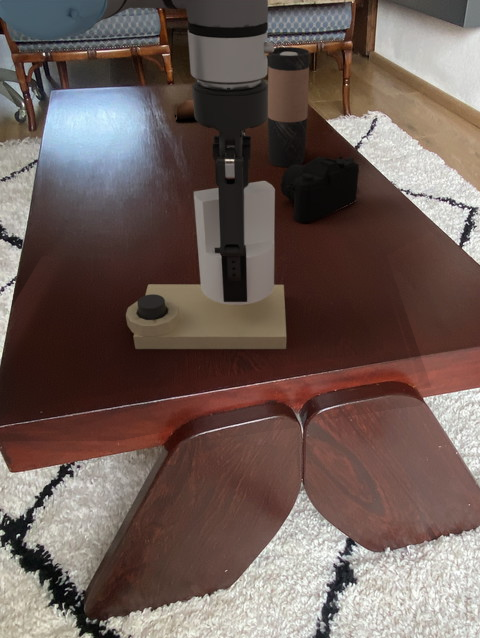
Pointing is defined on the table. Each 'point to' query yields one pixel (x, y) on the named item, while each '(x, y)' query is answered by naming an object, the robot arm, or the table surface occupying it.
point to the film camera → (320, 187)
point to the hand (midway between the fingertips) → (236, 279)
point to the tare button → (151, 307)
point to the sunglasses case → (185, 110)
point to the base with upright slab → (255, 238)
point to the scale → (209, 321)
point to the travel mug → (287, 105)
